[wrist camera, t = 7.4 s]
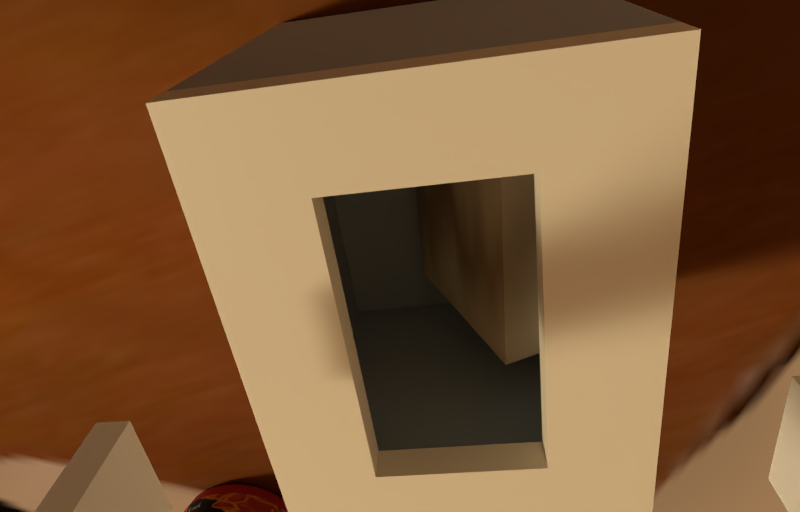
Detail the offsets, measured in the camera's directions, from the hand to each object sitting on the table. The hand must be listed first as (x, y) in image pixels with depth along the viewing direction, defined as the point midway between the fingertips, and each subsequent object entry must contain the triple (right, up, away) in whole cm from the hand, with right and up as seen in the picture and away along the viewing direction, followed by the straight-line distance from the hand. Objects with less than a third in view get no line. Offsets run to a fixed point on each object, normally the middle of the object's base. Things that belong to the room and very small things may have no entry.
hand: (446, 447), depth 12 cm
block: (+1, +7, +12) cm, 14 cm away
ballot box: (+1, +7, +13) cm, 15 cm away
